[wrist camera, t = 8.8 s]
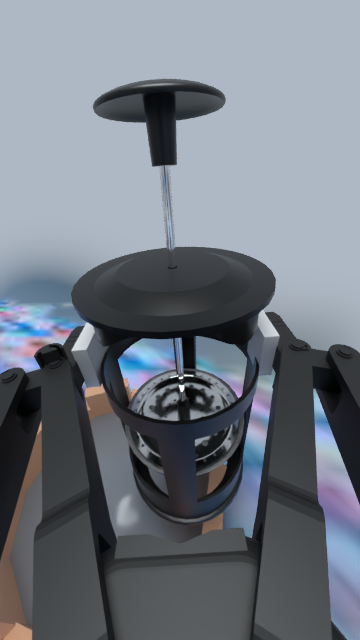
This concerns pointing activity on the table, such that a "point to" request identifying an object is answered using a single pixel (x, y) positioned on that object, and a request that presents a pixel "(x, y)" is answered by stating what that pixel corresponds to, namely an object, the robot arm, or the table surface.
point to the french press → (176, 327)
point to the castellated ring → (122, 500)
